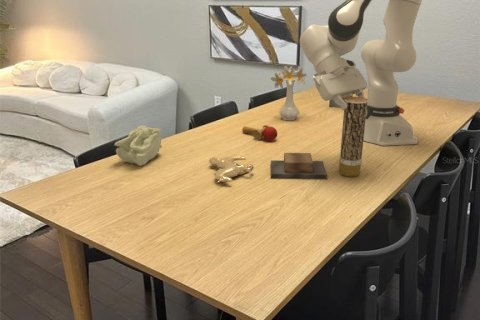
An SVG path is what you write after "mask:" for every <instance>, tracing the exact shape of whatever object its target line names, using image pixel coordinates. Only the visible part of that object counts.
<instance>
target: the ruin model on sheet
mask: <svg viewBox="0 0 480 320" xmlns="http://www.w3.org/2000/svg"><path fill="white" fill-rule="evenodd" d="M347 97H354V94H352V95H348V96H344V97H341V99H342V100H343V101H344V102H345V98H347ZM328 101H329V102H328V103H329V104H328V107H329V108H338V109H342V108H341V107H340V106H339V105H338V104H337V103H335V102H334V100H333V99H332V100H328Z"/></svg>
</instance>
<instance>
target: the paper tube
mask: <svg viewBox="0 0 480 320" xmlns="http://www.w3.org/2000/svg"><path fill="white" fill-rule="evenodd" d="M367 100H368V98H366V97H365V98H362V97H358V96H353V97H347V98H345V102H347V103H348V105H349V107H348V108H347V109H345V110H343V117H342V131H341V141H340V153H339V169H338V172H339V174H340V175H342V176H345V177H357V176H359V175H360V174H361V166H362V158H363V151H364V150H363V149H364V130H365V121H366V111H367Z"/></svg>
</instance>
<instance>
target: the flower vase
mask: <svg viewBox="0 0 480 320" xmlns="http://www.w3.org/2000/svg"><path fill="white" fill-rule="evenodd" d="M274 76H275V77H274ZM274 76H273V77H270V79H271V81H272V82H275V83H274V88H275V89H277V88H280V89H283V88H284V85H283V82H284V81H285V82H286V98H285V102H284V104H283V106H282V107H281V108H280V109H279V115H280V116H281V117H282V120H283V121H295V120H296V117H298V115H299V114H300V111H299V108H298V107H297V106H296V104H295V101H294V85H295V83H296V82H297V84H298V85H300V83H301V84H302V85H303V86H304V85H305V83H306V81H305V80H306V78H307V76H308V75H307V73H304V72H303V68H302V67H300V66H299V65H297V70H296V69H295V68H293V65H292V66H290V67H289V68H288V66H287V65H284V66H283V70H280V72H279V73H277V72H275V73H274Z"/></svg>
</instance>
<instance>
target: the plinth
mask: <svg viewBox="0 0 480 320" xmlns="http://www.w3.org/2000/svg"><path fill="white" fill-rule="evenodd" d="M270 179H286V180H288V179H294V180H295V179H296V180H297V179H300V180H305V179H306V180H327V179H328V173H327V170H326V167H325V163H324V160H313V157H312V154H311V152H284V153H283V160H275V159H274V160H270Z"/></svg>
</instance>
